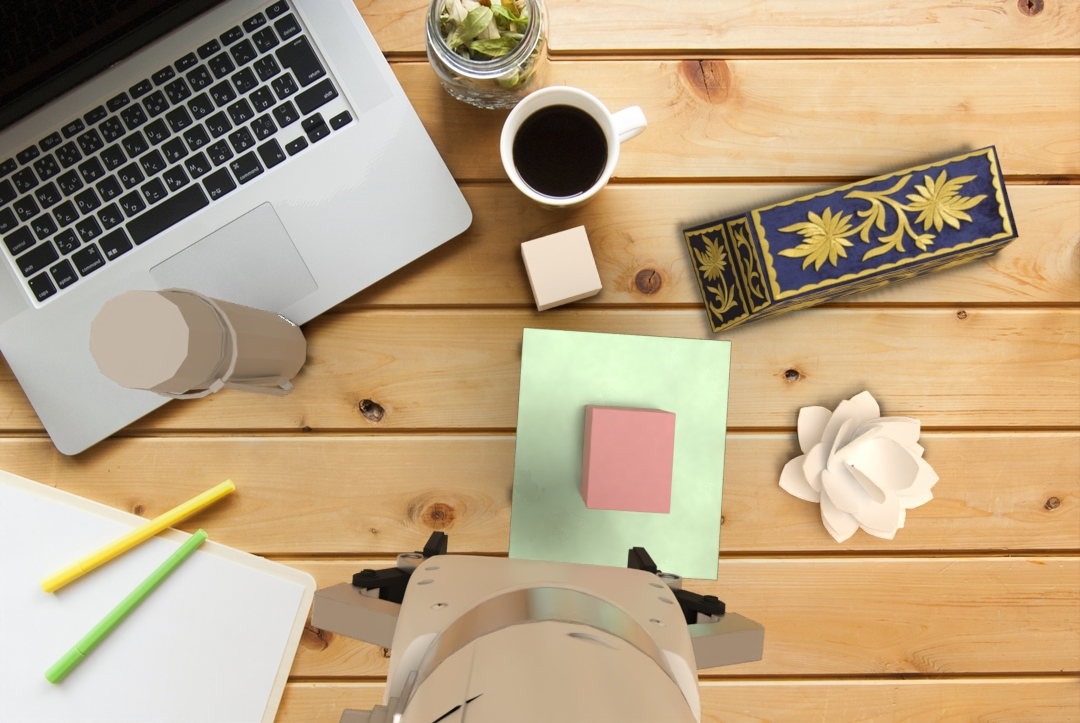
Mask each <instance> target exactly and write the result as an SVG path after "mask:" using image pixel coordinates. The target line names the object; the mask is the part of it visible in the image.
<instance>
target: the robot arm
mask: <svg viewBox="0 0 1080 723" xmlns="http://www.w3.org/2000/svg"><path fill="white" fill-rule="evenodd" d="M448 543H449V535H448V534H445V531H439V530H433V531H432V533H431V535H430V536H429V538H428V539H427V542H425V545H424V546H423V548H422V551H421V550H420V551H419V550H415V551H414V552H403V553H399V554H397V556H396V566H394V567H388V568H387V567H386V568H381V569H372V568H364V569H362V570H360V571H359V572H356V573H353V575H352V579H351V583H348V582H340V583H337V584H333V585H330V586H327V587H324V588H321V589H320V588H319V589H317V590H315V591H314V592H313V599H312V610H311V621H310V624H311V627H313V628H315V629H319V630H322V631H325V632H330V633H333V634H335V635H340V636H343V637H347V638H349V639H353V640H357V641H360V642H362V643H363V642H364V643H367V644H370V645H374V646H377V647H380V648H383V649H387V650H390V651H391V652H390V658H389V663H388V669H387V676H386V683H385V687H384V691H383V696H382V700H381V704H374V706H373V707H372V709H361V708H360V709H359V708H346V707H345V709H343V710H342V713H341V715H340V719H339V722H338V723H702V722H701V720H702V718H701V717H702V715H701V713H702V711H701V710H702V709H701V693H700V692H701V691H700V684H699V683H700V682H699V674H698V671H700V670H707V669H714V668H721V667H726V666H733V665H740V664H747V663H754V662H759V661H762V660H763V657H764V646H765V632H766V627H765V626H764V625H763V624H762V623H760V622H757V621H755V620H753V619H751V618H748V617H746V616H745V615H741V614H739V613H738V612H735V611H731V612H727V611H726V608H727V607H726V603H725V602H724V601H722V600H720V599H719V597H718V596H716V595H711V594H705V595H704V594H700V593H696V592H693V591H689V590H686V589H683V578H682V577H681V576H679V575H676V574H672V573H662V571H661V570H657V565H656V564H655V562H654V561H653V560H652V558H651V557H650V555H649V554H648V553H647V551H646V550H645V548H644V547H633V549H629V552H628V563H627V568H623V567H613V566H603V565H591V564H580V563H568V562H555V561H543V560H529V559H516V558H508V557H499V556H486V555H470V554H469V555H467V554H448Z"/></svg>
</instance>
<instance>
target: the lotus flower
mask: <svg viewBox="0 0 1080 723" xmlns="http://www.w3.org/2000/svg"><path fill="white" fill-rule="evenodd" d="M880 412H881V411H880V406H879V404H878V402H877V400H876V399H875V398H874V397H873V396H872V394H871V393H870V392H869V391H868V390H863V391H861V392H859V393H857V394H855V395H853V396H852V397H851V398H849V399H842V400H841V401H840V402H839V404H838V405H837V406H836V408H834V411H833V412H832V411H831V410H830V409H828V408H826V407H824V406H821V405H819V406H818V405H811V406H805V407H801V408H800V409H799V413H798V418H797V438H798V443H799V447H800V450H801V452H802V453H803V454H801V455H798V456H796V457H794V458H792V459H790V460H789V461H788V462H787V463H785V464H784V466H783V468H782V471H781V473H780V477H779V481H778V486H779V487H781V489H783V490H784V491H785V492H787V493H788V494H789V495H792V496H794V497H796V498H798V499H801V500H804V501H807V502H811V503H816V504H817V503H819V505H820V516H821V520H822V524H823V527H824V528H825V530H826V531H827V532H828V534H829V536H831V537H832V538H833V539H834V540H835V541H836V542H837V543H838V544H840V543H842V542H845V541H847V540H848V539H850V538H851V537H852V536H853V535H854V534H855V533H856V532H857V531H858V529H859V528H860V529H862V530H863V531H864V532H865V533H866V534H868V535H871V536H873V537H876V538H879V539H883V540H884V539H885V540H889V541H891V540H893V539H894V537H895V535H896V533H897V531H898V529H903V528H904V527H905V522H906V515H907V514H906V509H909V510H910V509H915V508H917V507H920V506H923V505H924V504H926V503H928V502H930V501H931V500H933V499H934V495H933V492H932V490H931V489H932V488H933V487H934V486H935V485H936V483H938V482H939V481H940V477H939V475H938V474H937V472H936V471H935V470H934V468H933V467H932V465H931V464H930V463H928V462H927V461H926V460H925V459H924V458H923V457H922V456H923V454H924V451H925V448H924V447H923V446H921V445H920V444H919V443H918V441H920V436H921V422H922V421H921V420H920V419H918V418H915V417H910V416H906V415H905V416H904V415H903V416H902V415H893V416H881V413H880Z"/></svg>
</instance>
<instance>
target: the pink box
mask: <svg viewBox="0 0 1080 723" xmlns="http://www.w3.org/2000/svg"><path fill="white" fill-rule="evenodd" d="M675 419H676V414H675V413H672V412H668V411H664V410H661V409H648V408H632V407H616V406H600V405H586V414H585V430H584V445H583V461H582V477H581V493H580V494H581V497H582V499H583V501H584V503H585V506H586V508H587V509H602V510H618V511H634V512H651V513H667V514H669V513H670V502H671V485H672V469H673V452H674V436H675Z"/></svg>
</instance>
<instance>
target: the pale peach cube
mask: <svg viewBox="0 0 1080 723" xmlns="http://www.w3.org/2000/svg"><path fill="white" fill-rule="evenodd" d="M520 248H521V257H522V260H523V264H524V266H525V271H526V274H527V277H528V281H529V284H530V287H531V290H532V293H533V298H534V300H535V304H536V308H537V310H538V312H542V311H545V310H549V309H551V308H552V309H553V308H556V307H560V306H563V305H566V304H569V303H573V302H577V301H580V300H582V299H586V298H589V297H593V296H596V295H597V294H599V292H600V291H601V290H602V289H603V285H602V282H601V278H600V275H599V272H598V269H597V265H596V262H595V258H594V255H593V252H592V248H591V245H590V242H589V238H588V234H587V231H586V227H585V225H584V224H583V225H580V226H576V227H573V228H569V229H566V230H562V231H559V232H556V233H552V234H547V235H544V236H542V237H538V238H535V239H531V240H528V241H525V242H521V243H520Z"/></svg>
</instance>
